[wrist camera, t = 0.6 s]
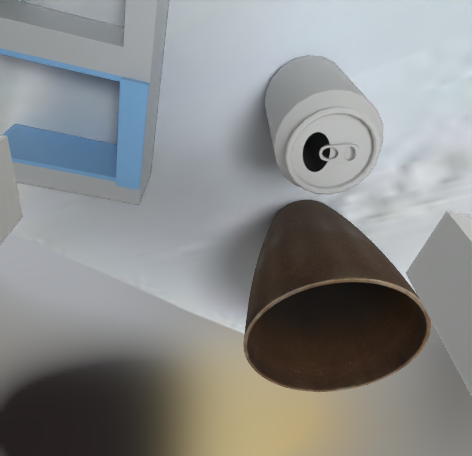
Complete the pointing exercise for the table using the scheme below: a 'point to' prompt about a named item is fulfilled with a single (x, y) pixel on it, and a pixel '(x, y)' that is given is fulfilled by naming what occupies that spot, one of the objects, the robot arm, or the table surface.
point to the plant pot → (328, 305)
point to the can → (321, 126)
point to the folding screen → (97, 64)
